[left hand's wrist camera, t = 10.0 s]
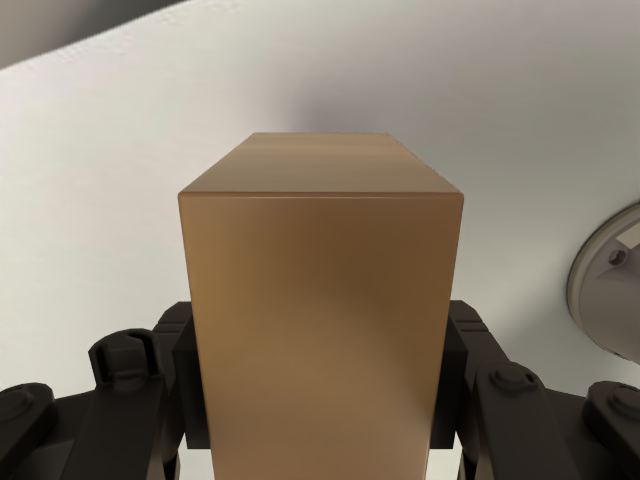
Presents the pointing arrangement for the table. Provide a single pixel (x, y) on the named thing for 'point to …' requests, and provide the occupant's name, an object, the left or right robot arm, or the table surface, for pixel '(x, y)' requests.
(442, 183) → the beam
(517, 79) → the table surface
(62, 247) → the table surface
